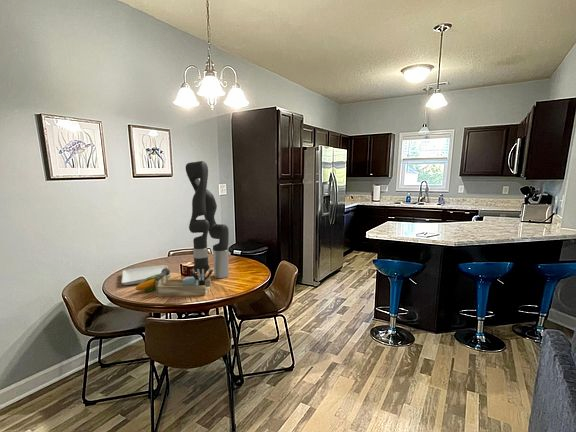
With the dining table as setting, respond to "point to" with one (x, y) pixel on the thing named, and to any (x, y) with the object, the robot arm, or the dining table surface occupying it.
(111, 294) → the dining table surface
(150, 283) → the corn
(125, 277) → the square plate
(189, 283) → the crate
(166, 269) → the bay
